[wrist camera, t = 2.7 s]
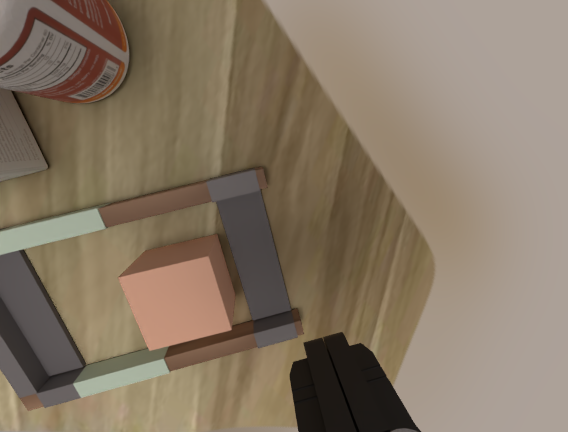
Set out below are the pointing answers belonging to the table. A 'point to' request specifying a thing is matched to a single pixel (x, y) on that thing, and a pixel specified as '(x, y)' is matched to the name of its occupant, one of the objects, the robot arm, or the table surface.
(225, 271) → the terracotta block
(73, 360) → the frame
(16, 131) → the product box
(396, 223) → the table surface
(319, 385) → the robot arm
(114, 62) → the pill bottle
